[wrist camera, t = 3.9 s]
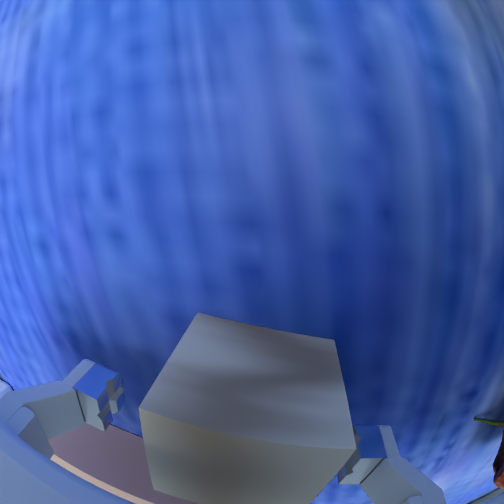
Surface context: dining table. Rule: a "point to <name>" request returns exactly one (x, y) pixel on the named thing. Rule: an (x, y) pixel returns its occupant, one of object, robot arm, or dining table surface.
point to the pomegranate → (503, 460)
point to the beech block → (246, 416)
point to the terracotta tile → (110, 463)
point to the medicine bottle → (4, 388)
